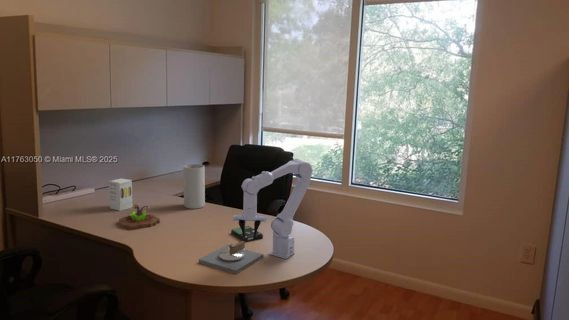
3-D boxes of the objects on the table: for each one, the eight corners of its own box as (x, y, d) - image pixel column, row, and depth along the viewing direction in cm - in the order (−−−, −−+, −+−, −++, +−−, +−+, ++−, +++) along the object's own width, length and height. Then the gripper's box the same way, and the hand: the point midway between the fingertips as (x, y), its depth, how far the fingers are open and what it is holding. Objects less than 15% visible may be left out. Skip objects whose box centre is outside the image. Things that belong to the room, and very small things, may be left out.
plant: (112, 223, 235) (111, 203, 233) (145, 215, 249) (144, 196, 247) (131, 232, 222) (130, 211, 220) (164, 224, 236) (164, 204, 234)
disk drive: (263, 239, 218) (248, 230, 230) (263, 234, 218) (248, 225, 230) (245, 243, 212) (230, 233, 224) (245, 238, 212) (230, 228, 224)
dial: (234, 263, 184) (234, 252, 183) (213, 257, 189) (213, 246, 188) (253, 252, 196) (253, 242, 195) (233, 247, 201) (233, 237, 200)
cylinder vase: (207, 204, 273) (207, 164, 269) (200, 209, 261) (200, 168, 257) (188, 202, 275) (188, 163, 271) (180, 208, 263) (179, 167, 259)
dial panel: (263, 257, 195) (263, 254, 195) (236, 274, 178) (236, 270, 178) (227, 247, 205) (227, 244, 205) (198, 262, 188) (198, 258, 188)
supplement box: (120, 211, 255) (118, 183, 251) (109, 208, 259) (108, 180, 256) (133, 207, 263) (132, 179, 260) (122, 204, 267) (121, 177, 264)
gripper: (267, 204, 192) (266, 234, 194) (234, 203, 192) (234, 232, 195) (266, 209, 185) (265, 240, 187) (232, 208, 185) (231, 238, 188)
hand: (249, 236), depth 191 cm, fingers open, 4 cm apart
